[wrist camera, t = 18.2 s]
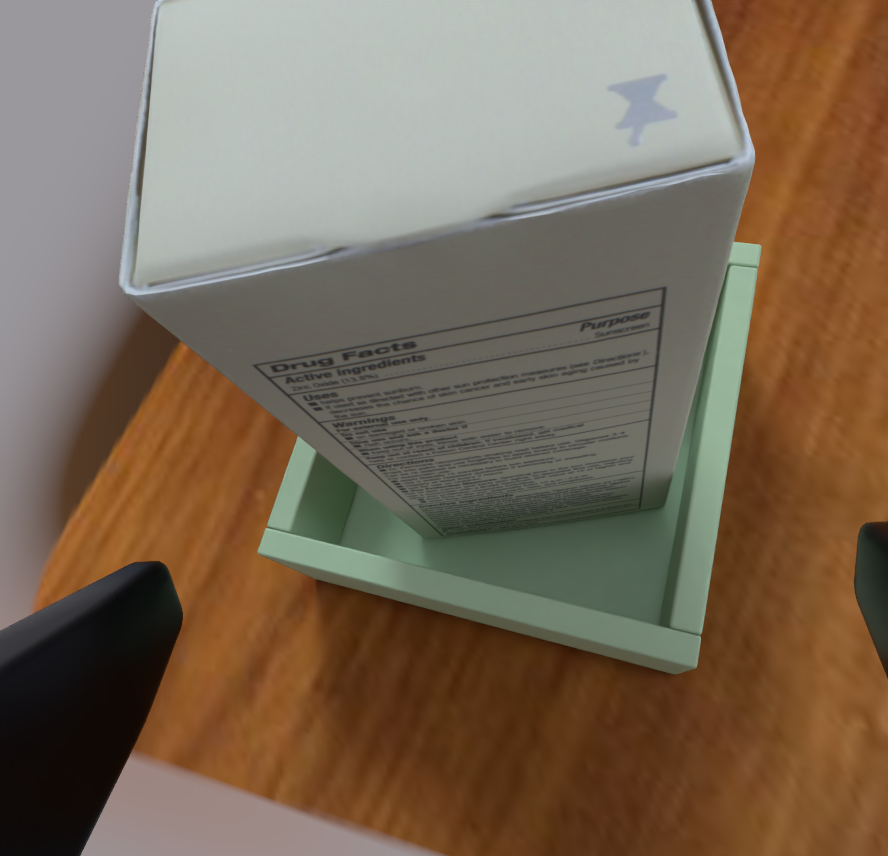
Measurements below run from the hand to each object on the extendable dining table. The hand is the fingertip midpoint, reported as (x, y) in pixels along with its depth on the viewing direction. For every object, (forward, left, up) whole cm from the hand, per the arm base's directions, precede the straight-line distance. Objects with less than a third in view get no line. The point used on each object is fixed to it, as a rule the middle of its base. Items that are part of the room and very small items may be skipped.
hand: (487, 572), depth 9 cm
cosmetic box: (+4, +1, -8) cm, 9 cm away
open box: (+4, +1, -9) cm, 10 cm away
